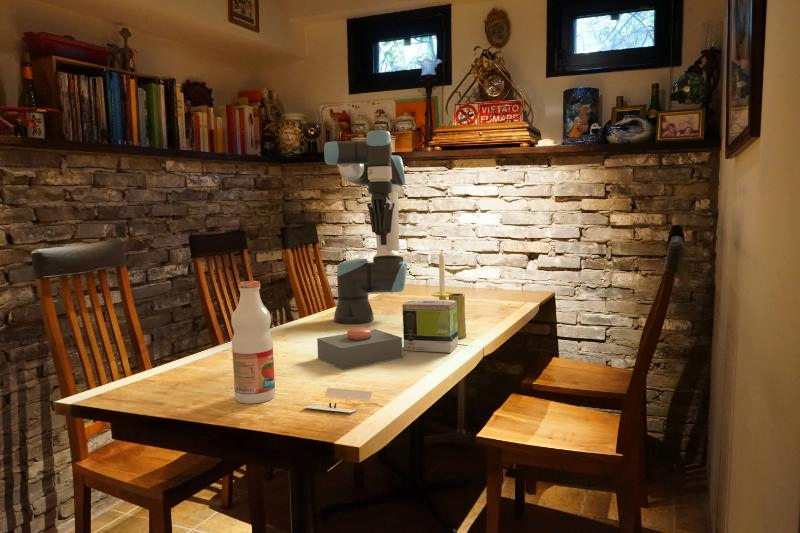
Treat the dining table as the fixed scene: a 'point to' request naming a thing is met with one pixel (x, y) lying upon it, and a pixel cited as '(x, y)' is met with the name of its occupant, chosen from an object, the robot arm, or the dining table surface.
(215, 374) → the dining table surface
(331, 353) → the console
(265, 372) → the fruit juice
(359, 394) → the beige flat rectangular pieces
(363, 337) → the button
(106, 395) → the dining table surface
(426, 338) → the tea box
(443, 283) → the candle
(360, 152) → the robot arm
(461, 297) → the vase
